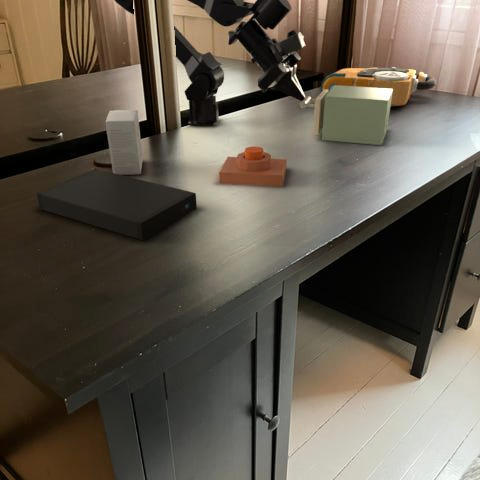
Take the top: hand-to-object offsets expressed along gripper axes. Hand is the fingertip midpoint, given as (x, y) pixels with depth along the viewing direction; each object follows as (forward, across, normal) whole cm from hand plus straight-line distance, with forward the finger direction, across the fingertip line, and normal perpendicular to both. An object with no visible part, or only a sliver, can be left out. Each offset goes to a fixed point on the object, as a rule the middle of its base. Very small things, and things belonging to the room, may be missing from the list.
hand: (303, 99), depth 125 cm
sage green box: (+14, 0, -4) cm, 15 cm away
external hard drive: (-9, -55, +19) cm, 59 cm away
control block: (+4, -33, +7) cm, 34 cm away
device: (+15, +37, -5) cm, 40 cm away
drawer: (+10, 0, -1) cm, 10 cm away
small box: (-15, -36, +25) cm, 46 cm away
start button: (+1, -33, +4) cm, 33 cm away
